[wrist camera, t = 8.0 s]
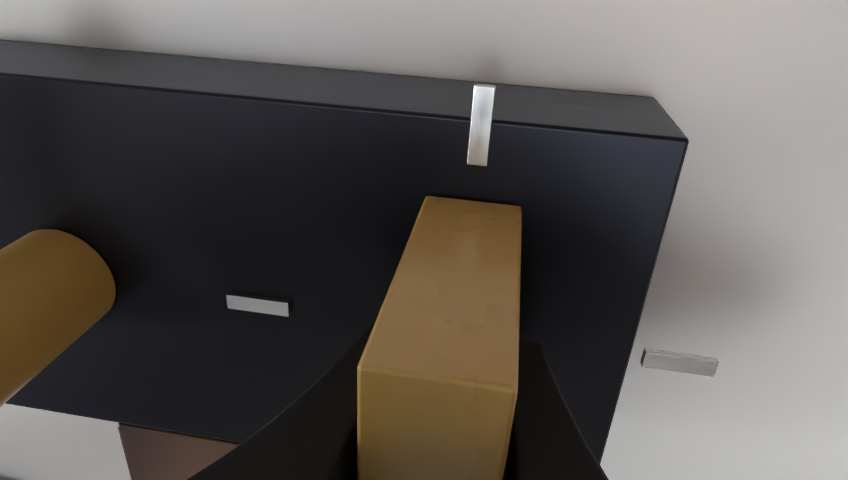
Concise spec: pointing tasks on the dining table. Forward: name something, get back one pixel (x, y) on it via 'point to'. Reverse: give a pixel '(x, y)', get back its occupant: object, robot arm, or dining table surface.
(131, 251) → the plate
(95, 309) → the tap spout
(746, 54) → the dining table surface
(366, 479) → the tan block
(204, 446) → the block
